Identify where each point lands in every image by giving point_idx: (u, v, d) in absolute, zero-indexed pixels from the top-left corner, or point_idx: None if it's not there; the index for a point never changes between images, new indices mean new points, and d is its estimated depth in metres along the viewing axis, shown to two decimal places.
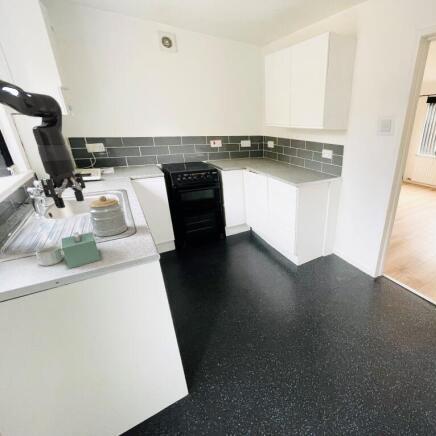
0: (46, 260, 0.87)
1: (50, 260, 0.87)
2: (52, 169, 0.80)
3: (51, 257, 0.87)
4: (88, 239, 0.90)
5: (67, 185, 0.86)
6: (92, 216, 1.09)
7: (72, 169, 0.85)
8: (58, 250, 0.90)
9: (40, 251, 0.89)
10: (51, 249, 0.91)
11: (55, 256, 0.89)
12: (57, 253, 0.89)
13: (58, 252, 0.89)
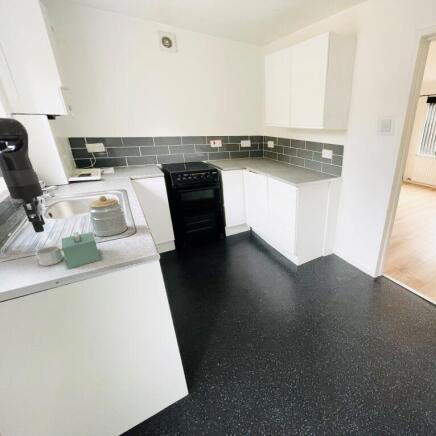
0: (46, 260, 0.87)
1: (50, 260, 0.87)
2: (29, 193, 0.80)
3: (51, 257, 0.87)
4: (88, 239, 0.90)
5: None
6: (92, 216, 1.09)
7: (42, 192, 0.85)
8: (58, 250, 0.90)
9: (40, 251, 0.89)
10: (51, 249, 0.91)
11: (55, 256, 0.89)
12: (57, 253, 0.89)
13: (58, 252, 0.89)
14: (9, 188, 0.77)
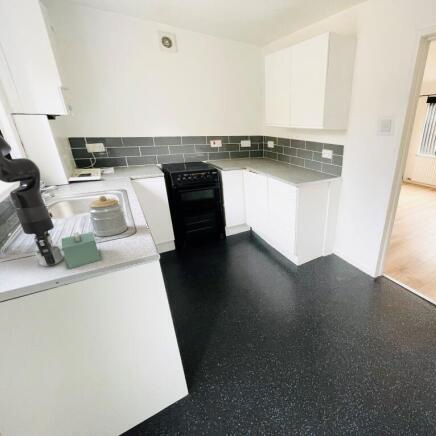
0: None
1: None
2: (41, 228, 0.83)
3: None
4: (88, 239, 0.90)
5: None
6: (92, 216, 1.09)
7: (53, 225, 0.88)
8: (58, 250, 0.90)
9: None
10: (51, 249, 0.91)
11: (55, 256, 0.89)
12: (57, 253, 0.89)
13: (58, 252, 0.89)
14: (22, 224, 0.81)
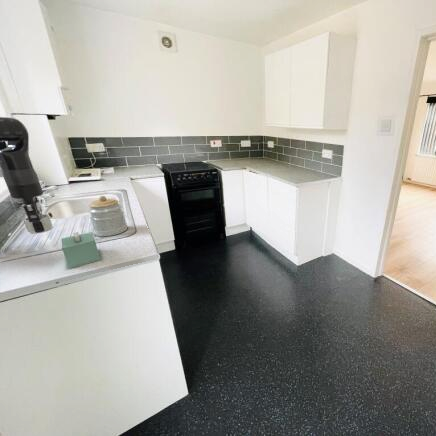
0: None
1: None
2: (29, 192, 0.80)
3: None
4: (88, 239, 0.90)
5: None
6: (92, 216, 1.09)
7: (42, 191, 0.85)
8: (47, 218, 0.86)
9: None
10: (40, 217, 0.87)
11: (44, 224, 0.85)
12: (46, 221, 0.85)
13: (47, 220, 0.86)
14: (9, 187, 0.78)
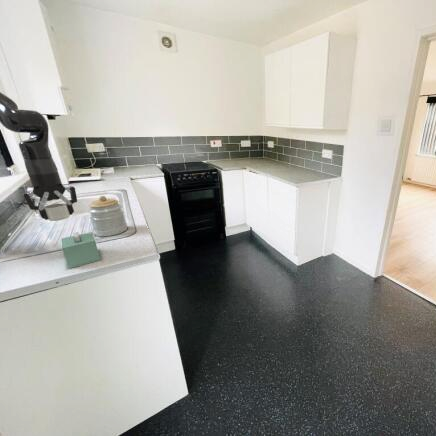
0: None
1: None
2: (32, 182, 0.83)
3: None
4: (88, 239, 0.90)
5: (51, 197, 0.87)
6: (92, 216, 1.09)
7: (51, 183, 0.85)
8: (52, 209, 0.87)
9: (60, 205, 0.92)
10: None
11: (48, 213, 0.88)
12: (50, 212, 0.87)
13: (51, 211, 0.87)
14: None
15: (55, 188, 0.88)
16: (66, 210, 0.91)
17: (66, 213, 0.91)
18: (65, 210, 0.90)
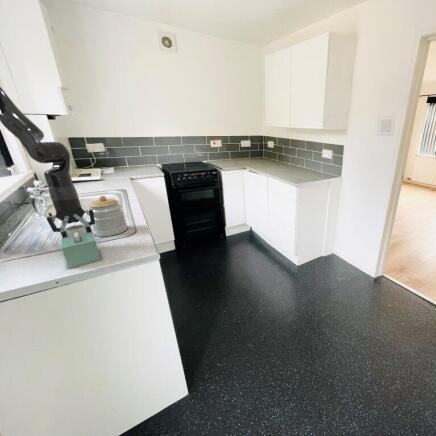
0: None
1: (67, 236, 0.96)
2: None
3: (66, 234, 0.95)
4: (88, 239, 0.90)
5: (71, 220, 0.94)
6: None
7: (70, 208, 0.91)
8: (71, 231, 0.94)
9: (81, 226, 0.99)
10: None
11: (68, 235, 0.95)
12: (69, 233, 0.94)
13: (70, 233, 0.94)
14: None
15: (75, 212, 0.95)
16: (84, 232, 0.97)
17: None
18: (83, 232, 0.97)
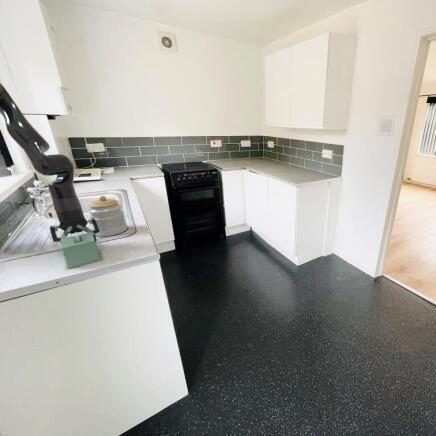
0: None
1: None
2: (58, 218, 0.92)
3: None
4: (88, 239, 0.90)
5: (74, 231, 0.96)
6: (92, 216, 1.09)
7: (74, 219, 0.93)
8: None
9: None
10: None
11: None
12: None
13: None
14: None
15: (78, 222, 0.96)
16: None
17: None
18: None
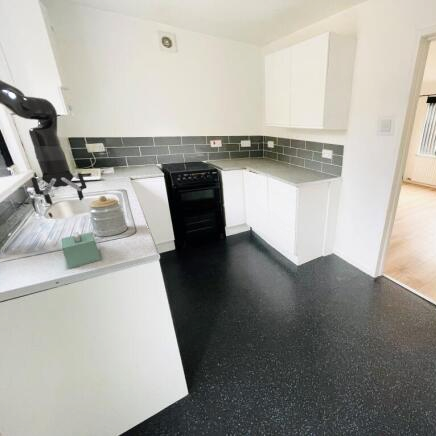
0: None
1: None
2: None
3: None
4: (88, 239, 0.90)
5: (58, 184, 0.90)
6: (92, 216, 1.09)
7: (57, 170, 0.87)
8: None
9: None
10: None
11: None
12: None
13: None
14: None
15: (63, 175, 0.90)
16: None
17: None
18: None
